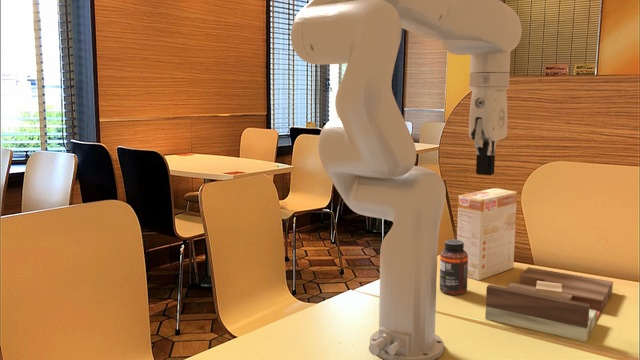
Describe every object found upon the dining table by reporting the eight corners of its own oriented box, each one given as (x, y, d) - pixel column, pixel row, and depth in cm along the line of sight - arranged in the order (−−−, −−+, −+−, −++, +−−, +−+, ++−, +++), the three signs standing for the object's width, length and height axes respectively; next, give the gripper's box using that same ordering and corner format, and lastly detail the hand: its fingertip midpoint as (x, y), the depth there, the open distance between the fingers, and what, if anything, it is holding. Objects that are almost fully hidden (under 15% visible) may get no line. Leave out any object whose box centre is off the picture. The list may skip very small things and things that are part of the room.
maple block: (560, 314, 106) (561, 291, 105) (534, 310, 108) (535, 288, 107) (560, 306, 110) (561, 283, 109) (535, 302, 112) (536, 280, 111)
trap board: (585, 341, 100) (588, 306, 99) (485, 318, 110) (486, 286, 109) (612, 292, 124) (614, 263, 123) (527, 277, 135) (529, 250, 134)
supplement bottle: (464, 287, 128) (466, 238, 126) (468, 296, 122) (471, 245, 120) (437, 286, 129) (439, 237, 127) (440, 295, 123) (442, 244, 121)
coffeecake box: (490, 261, 147) (493, 187, 144) (514, 268, 141) (519, 191, 138) (454, 273, 137) (457, 194, 134) (479, 281, 132) (482, 198, 129)
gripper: (495, 81, 104) (491, 181, 107) (519, 82, 116) (514, 171, 119) (456, 82, 108) (453, 177, 111) (483, 82, 120) (479, 168, 123)
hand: (485, 174), depth 115 cm, fingers closed
